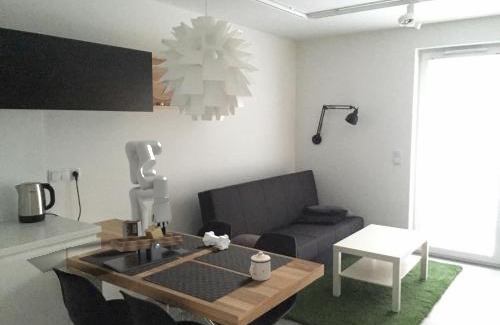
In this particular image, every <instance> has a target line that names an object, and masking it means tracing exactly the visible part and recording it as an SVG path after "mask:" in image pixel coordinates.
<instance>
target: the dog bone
mask: <svg viewBox="0 0 500 325" xmlns="http://www.w3.org/2000/svg"><path fill="white" fill-rule="evenodd" d="M202 242H204V246H206V247H210V246H213V245H215V246H217V247H218V249H219V250H220V251H224V250H227V249H229V246H230V243H231V240H230V238H229V235H227V234H224V235H219V236H217V235H215V233H214V231H209V232H205V233H204V236H203V238H202Z"/></svg>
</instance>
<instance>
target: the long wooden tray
mask: <svg viewBox="0 0 500 325" xmlns="http://www.w3.org/2000/svg"><path fill="white" fill-rule="evenodd" d="M173 234H174V233H173V232H167V233H166V235H163V237H162V238H156V239H147V237H146V236H136V237H126V238H123V237H117V238H111V239H110V242H109V247H110V248H112V249H114V250H116V251H118V252H121V253H122V252H132V251H131V250H139V249H147V248H151V245H150V243H153V242H157V241H160V242H161V247H163V248H166V249H168V250H178V249H180V248H182V246H181V245H183V244H184V239H182V238H183V237H182V236H183V235H175V236H173Z"/></svg>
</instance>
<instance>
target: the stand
mask: <svg viewBox="0 0 500 325" xmlns="http://www.w3.org/2000/svg"><path fill="white" fill-rule="evenodd" d="M150 245H151V248H147V249H139V250H136V251H135V252H136V253H134V254H129V255H126V256H121V257H117V258H113V259H110V260H105V261H103V264H104V265H106V266H107V267H109V268H112V269H113V270H115V271H117V272H118V273H120V274H121V273H125V272H127V271H128V272H129V271H131V270H132V271H133V270H136V269H139V268H143V267H145V266H150V265H153V264H156V263H159V262H160V263H161V262H164V261H167V260H171V259H174V258H177V257H181V256H185V255H188V254H189V255H190V254H191V251H190V250H188V249H185V248H182V247H181V248H180V249H178V250H168V249H166V248H163V247H161V242H160V241H157V242H153V243H150Z"/></svg>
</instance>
